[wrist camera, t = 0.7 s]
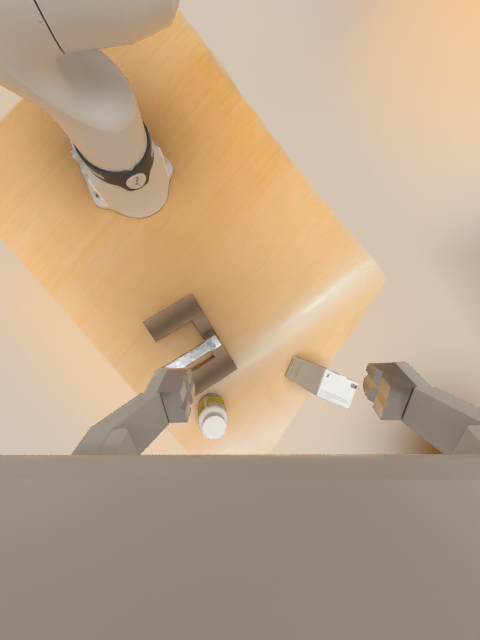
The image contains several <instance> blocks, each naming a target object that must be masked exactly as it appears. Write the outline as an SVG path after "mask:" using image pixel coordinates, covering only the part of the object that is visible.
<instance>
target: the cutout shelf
mask: <svg viewBox="0 0 480 640" xmlns="http://www.w3.org/2000/svg"><path fill="white" fill-rule="evenodd" d="M191 320H192V321H193V323H194V324H195V326H196V328H197V329H198V331H199V332H200V334H201V336H202V337H203V339H204V335H203V334H204V333H206V332H208V331H209V330H212V331H213V333H214V334H215V335H216V337H217V338H218V336H217V334H216V333H215V331H214V329H213V328H212V326H211V325H210V323H209V321H208V320H207V318H206V316H205V315H204V313H203V312H202V310H201V308H200V307H199V305H198V303H197V302H196V300H195V299H194V297H193V295H192V294H191V295H189V296H187V297H186V298H184V299H182V300H180V301H179V302H177V303H175V304H173V305H172V306H170V307H168V308H167V309H165V310H163V311H161V312H160V313H158V314H156V315H154V316H153V317H151V318H149V319H148V320H146V321H144V322H143V323H144V325H145V326H146V328H147V329H148V331H149V332H150V334H151V335H152V337H153V338H154V340H155V341H158V340H160V339H161V338H163V337H165V336H166V335H168V334H170V333H171V332H173V331H175V330H176V329H178V328H180V327H181V326H183V325H185V324H186V323H188V322H190V321H191ZM218 340H219V342H220V343H221V346H219V347H217V348H216V349H214V350H213V351H211V352H212V353H213V355H214V356H213V357H211V358H209V359H208V360H206V361H205V362H203V363H202V364H200V365H198V366H197V367H195V368H194V369H192V370H191V371H192V378H191V380H192V381H193V382H194V385H195V396H196V395H198V394H200V393H201V392H203V391H204V390H206V389H207V388H209V387H210V386H212V385H213V384H215V383H216V382H218V381H219V380H221V379H222V378H224V377H226V376H227V375H229V374H230V373H232V372H233V371H235V370H236V369H238V368H237V367H236V365H235V364H234V362H233V360H232V359H231V357H230V355H229V354H228V352H227V351H226V349H225V347H224V346H223V344H222V342H221V341H220V339H219V338H218Z"/></svg>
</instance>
